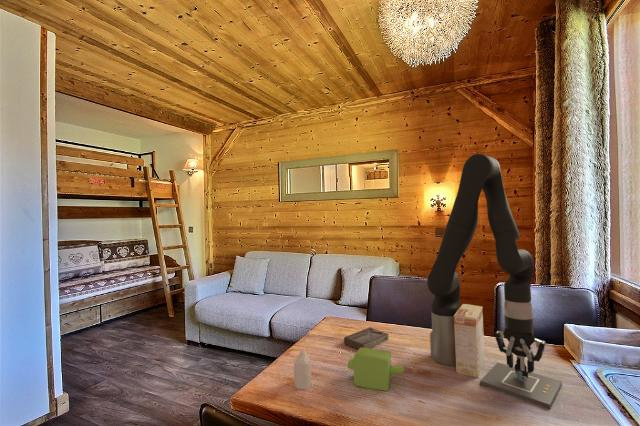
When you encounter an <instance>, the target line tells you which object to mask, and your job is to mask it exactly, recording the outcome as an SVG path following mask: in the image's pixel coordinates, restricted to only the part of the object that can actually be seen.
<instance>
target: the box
mask: <svg viewBox="0 0 640 426" xmlns="http://www.w3.org/2000/svg"><path fill="white" fill-rule="evenodd" d="M388 340H389V333H387V332H384V331H381V330H378V329H375V328H372V327H366V328H365V329H362V330H359V331H356V332H355V333H352V334H349V335H347V336H344V337H343V344H345V345H346V346H347V347H350V348H352V349H355V350H357V351H358V350H359V348H369V349H373V347H376V346H379V345H380V344H382V343H384V342H387V341H388Z"/></svg>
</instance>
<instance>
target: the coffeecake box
mask: <svg viewBox="0 0 640 426" xmlns="http://www.w3.org/2000/svg"><path fill="white" fill-rule="evenodd" d="M454 329H455V351H456V364H455V371H456V373H457V374H461V375H465V376H471V377H474V378H476V379H477V378H479V376H480V373H481V370H482V369H483V365H484V362H485V360H486V358H485V341H484V340H485V337H484V336H485V335H484V314H483V306H481V305H474V304H469V303H467V304H466V303H462V304H461V306H459V308H458V311H457V312H456V313H455V315H454Z"/></svg>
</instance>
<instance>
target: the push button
mask: <svg viewBox="0 0 640 426" xmlns="http://www.w3.org/2000/svg"><path fill="white" fill-rule="evenodd" d="M511 352H512V354H513V355H514V356H516V360H515V363H514V367H515V374H516V375H517V377H518V378H519V379H520V380H521V381H524V382H525V381H526V382H527V378H528V372H527V371H528V370H527V365H526V363H525V358H527V356H526V354H525V352H524V349H521V348H519V347H514V348H512V351H511ZM516 375H515V376H516Z"/></svg>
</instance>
